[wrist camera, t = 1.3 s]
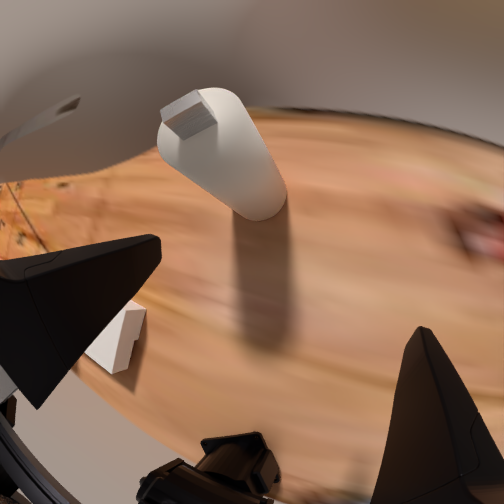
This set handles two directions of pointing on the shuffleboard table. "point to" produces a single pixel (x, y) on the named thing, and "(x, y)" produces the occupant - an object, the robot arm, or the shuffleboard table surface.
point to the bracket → (118, 339)
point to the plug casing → (222, 152)
